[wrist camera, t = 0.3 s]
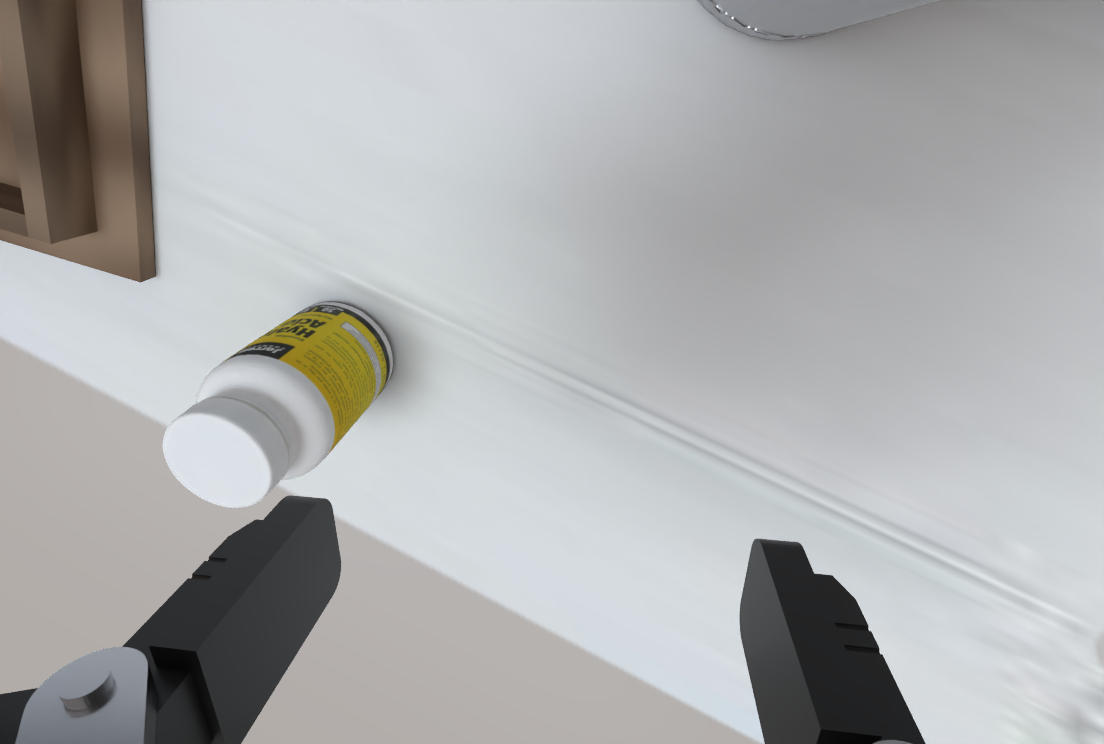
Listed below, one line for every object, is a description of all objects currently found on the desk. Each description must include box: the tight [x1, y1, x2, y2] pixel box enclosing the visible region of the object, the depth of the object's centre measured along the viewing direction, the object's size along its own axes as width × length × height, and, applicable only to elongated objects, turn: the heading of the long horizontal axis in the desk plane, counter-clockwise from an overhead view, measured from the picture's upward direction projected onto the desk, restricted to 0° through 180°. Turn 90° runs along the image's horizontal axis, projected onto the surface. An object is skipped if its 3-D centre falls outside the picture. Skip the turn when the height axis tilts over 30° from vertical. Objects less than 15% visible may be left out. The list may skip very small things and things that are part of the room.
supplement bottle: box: [163, 302, 393, 508], centre depth 25 cm, size 6×6×10 cm
